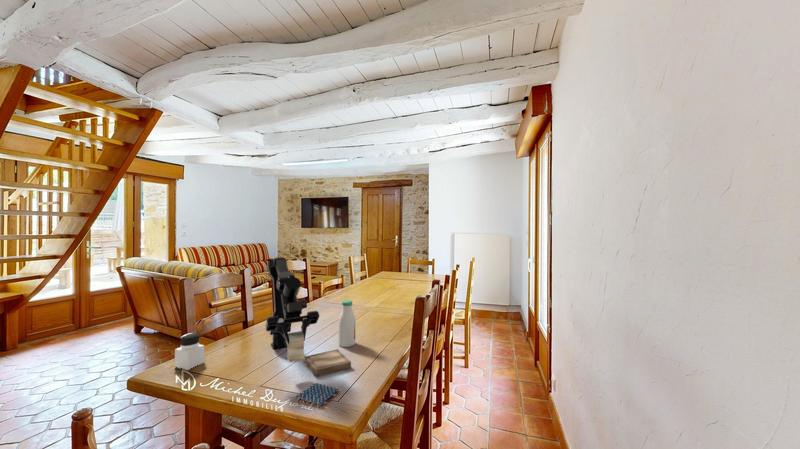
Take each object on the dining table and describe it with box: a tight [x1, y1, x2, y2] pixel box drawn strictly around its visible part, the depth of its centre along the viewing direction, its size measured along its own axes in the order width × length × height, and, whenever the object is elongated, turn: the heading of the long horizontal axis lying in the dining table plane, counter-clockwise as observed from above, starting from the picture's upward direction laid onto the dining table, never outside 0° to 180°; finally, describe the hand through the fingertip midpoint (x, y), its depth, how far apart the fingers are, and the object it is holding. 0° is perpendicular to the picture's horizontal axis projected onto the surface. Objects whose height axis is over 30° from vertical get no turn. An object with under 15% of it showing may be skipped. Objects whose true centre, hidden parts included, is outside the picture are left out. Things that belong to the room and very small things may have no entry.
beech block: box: [286, 330, 305, 363], centre depth 116 cm, size 4×5×9 cm
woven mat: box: [295, 382, 341, 409], centre depth 104 cm, size 10×11×2 cm
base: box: [304, 349, 352, 378], centre depth 126 cm, size 14×14×3 cm
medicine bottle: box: [174, 332, 206, 371], centre depth 125 cm, size 7×7×12 cm
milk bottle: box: [337, 300, 356, 348], centre depth 147 cm, size 8×8×20 cm
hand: (296, 341), depth 115 cm, fingers closed on beech block, 5 cm apart
